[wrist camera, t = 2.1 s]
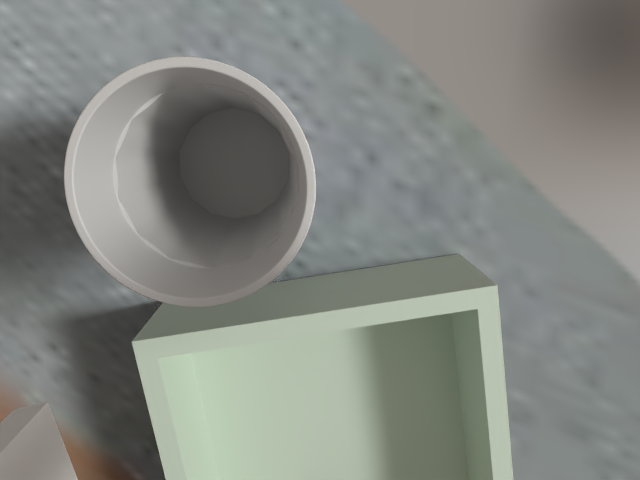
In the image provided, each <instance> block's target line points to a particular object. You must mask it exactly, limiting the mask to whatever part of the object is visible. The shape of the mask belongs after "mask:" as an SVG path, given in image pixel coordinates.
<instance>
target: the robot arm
mask: <svg viewBox="0 0 640 480" xmlns="http://www.w3.org/2000/svg"><path fill="white" fill-rule="evenodd" d="M0 480H78V479H77V476H76V474H75V471H74V469H73V466H72V463H71V461H70V458H69V456H68V453H67V450H66V448H65V445H64V443H63V440H62V438H61V435H60V432H59V430H58V427H57V425H56V422H55V419H54V417H53V414H52V412H51V409H50V406H49V404H48V402H45V403H41V404H36V405H32V406H27V407H23V408H18V409H14V410H13V411H12V412H11V413H10V414H9V415H8V416H7V417H6V418H5V419H4V420H3V421H2V422H1V423H0Z"/></svg>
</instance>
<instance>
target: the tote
mask: <svg viewBox="0 0 640 480" xmlns="http://www.w3.org/2000/svg"><path fill="white" fill-rule="evenodd" d="M132 345H133V349H134V353H135V358H136V362H137V366H138V370H139V374H140V378H141V382H142V386H143V390H144V394H145V398H146V402H147V406H148V410H149V414H150V418H151V422H152V426H153V430H154V434H155V438H156V442H157V446H158V450H159V454H160V458H161V462H162V466H163V471H164V475H165V479H166V480H513V471H512V459H511V446H510V434H509V422H508V409H507V397H506V385H505V373H504V360H503V348H502V336H501V323H500V311H499V299H498V286H497V284H495V283H494V282H493V281H492V280H490V279H489V278H488V277H487V276H486V275H484V274H483V273H482V272H481V271H480V270H478V269H477V268H476V267H475V266H474V265H472V264H471V263H470V262H469V261H467V260H466V259H465V258H464V257H463V256H461V255H460V254H455V255H449V256H442V257H436V258H429V259H423V260H416V261H410V262H403V263H397V264H390V265H384V266H378V267H371V268H365V269H358V270H352V271H345V272H339V273H332V274H326V275H319V276H313V277H306V278H300V279H293V280H287V281H280V282H274V283H268V284H267V285H265V286H264V287H262V288H261V289H259V290H257V291H256V292H254V293H252V294H250V295H248V296H246V297H243V298H241V299H238V300H235V301H232V302H229V303H224V304H220V305H214V306H204V307H187V306H178V305H172V304H167V303H162V304H161V306H160V307H159V308H158V309H157V311H156V312H155V313H154V314H153V316H152V317H151V318H150V319H149V321H148V322H147V323H146V324H145V326H144V327H143V328H142V329H141V331H140V332H139V333H138V334H137V336H136V337H135V338H134V339H133V341H132Z"/></svg>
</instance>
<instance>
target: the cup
mask: <svg viewBox="0 0 640 480" xmlns="http://www.w3.org/2000/svg"><path fill="white" fill-rule="evenodd" d="M64 188H65V196H66V201H67V206H68V209H69V213H70V216H71V219H72V221H73V224H74V226H75V229H76V231H77V233H78V235H79V237H80V238H81V240H82V242H83V243H84V245H85V247H86V248H87V250H88V251H89V252H90V254H91V255H92V256H93V257H94V259H95V260H96V261H97V262H98V263H99V264H100V265H101V266H102V267H103V268H104V269H105V270H106V271H107V272H108V273H109V274H110V275H111V276H112V277H114V278H115V279H116V280H118V281H119V282H120V283H122V284H123V285H125V286H126V287H128V288H130V289H131V290H133V291H135V292H137V293H139V294H141V295H143V296H146V297H148V298H151V299H153V300H156V301H160V302H163V303H167V304H172V305H178V306H187V307H204V306H214V305H220V304H224V303H229V302H232V301H235V300H238V299H241V298H243V297H246V296H248V295H250V294H252V293H254V292H256V291H257V290H259V289H261V288H262V287H264V286H265V285H267V284H268V283H270V282H271V281H272V280H273V279H274V278H276V277H277V276H278V275H279V274H280V273H281V272H282V271H283V270H284V269H285V268H286V267H287V266H288V264H289V263H290V262H291V261H292V259H293V258H294V257H295V255H296V254H297V252H298V251H299V249H300V247H301V245H302V244H303V242H304V240H305V237H306V235H307V233H308V230H309V227H310V224H311V221H312V217H313V213H314V207H315V199H316V176H315V168H314V163H313V158H312V155H311V151H310V148H309V145H308V142H307V140H306V137H305V135H304V133H303V131H302V129H301V127H300V125H299V124H298V122H297V120H296V119H295V117H294V116H293V114H292V113H291V111H290V110H289V109H288V107H287V106H286V105H285V104H284V103H283V101H282V100H281V99H280V98H279V97H278V96H277V95H276V94H275V93H274V92H273V91H271V90H270V89H269V88H268V87H267V86H265V85H264V84H263V83H262V82H260V81H259V80H257V79H256V78H254V77H253V76H251V75H249V74H248V73H246V72H244V71H242V70H240V69H238V68H235V67H233V66H230V65H228V64H225V63H222V62H218V61H215V60H210V59H205V58H197V57H171V58H163V59H158V60H154V61H150V62H146V63H143V64H141V65H138V66H136V67H133V68H131V69H129V70H127V71H125V72H123V73H122V74H120V75H118V76H117V77H115V78H114V79H112V80H111V81H110V82H109V83H107V84H106V85H105V86H104V87H103V88H102V89H100V90H99V91H98V92H97V93H96V95H95V96H94V97H93V98H92V99H91V100H90V101H89V103H88V104H87V105H86V107H85V108H84V110H83V111H82V113H81V115H80V116H79V118H78V120H77V122H76V124H75V126H74V128H73V131H72V133H71V136H70V139H69V142H68V146H67V151H66V156H65V163H64Z"/></svg>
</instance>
